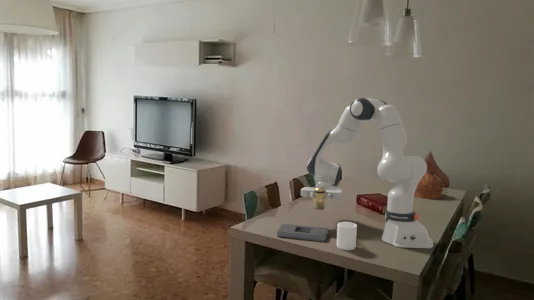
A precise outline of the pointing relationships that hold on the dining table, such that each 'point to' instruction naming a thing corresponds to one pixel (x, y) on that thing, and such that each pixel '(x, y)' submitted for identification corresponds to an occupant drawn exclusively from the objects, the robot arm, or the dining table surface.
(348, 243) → the cup
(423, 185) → the decorative ornament
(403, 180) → the robot arm
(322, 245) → the dining table surface
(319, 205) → the gold cylinder
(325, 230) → the grey recessed slab
